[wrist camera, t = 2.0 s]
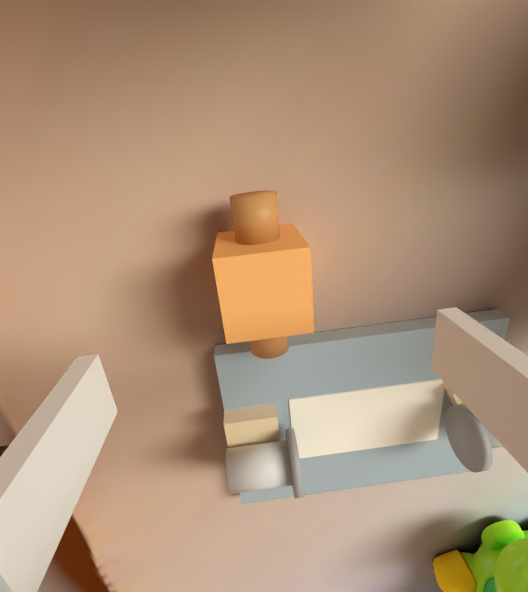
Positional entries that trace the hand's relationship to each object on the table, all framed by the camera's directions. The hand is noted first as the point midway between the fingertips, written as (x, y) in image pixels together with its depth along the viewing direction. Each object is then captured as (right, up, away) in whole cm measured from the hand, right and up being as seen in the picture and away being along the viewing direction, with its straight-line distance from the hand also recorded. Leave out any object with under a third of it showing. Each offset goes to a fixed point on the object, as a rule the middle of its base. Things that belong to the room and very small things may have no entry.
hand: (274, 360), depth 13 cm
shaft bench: (+8, -7, +16) cm, 19 cm away
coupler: (-1, +5, +10) cm, 11 cm away
